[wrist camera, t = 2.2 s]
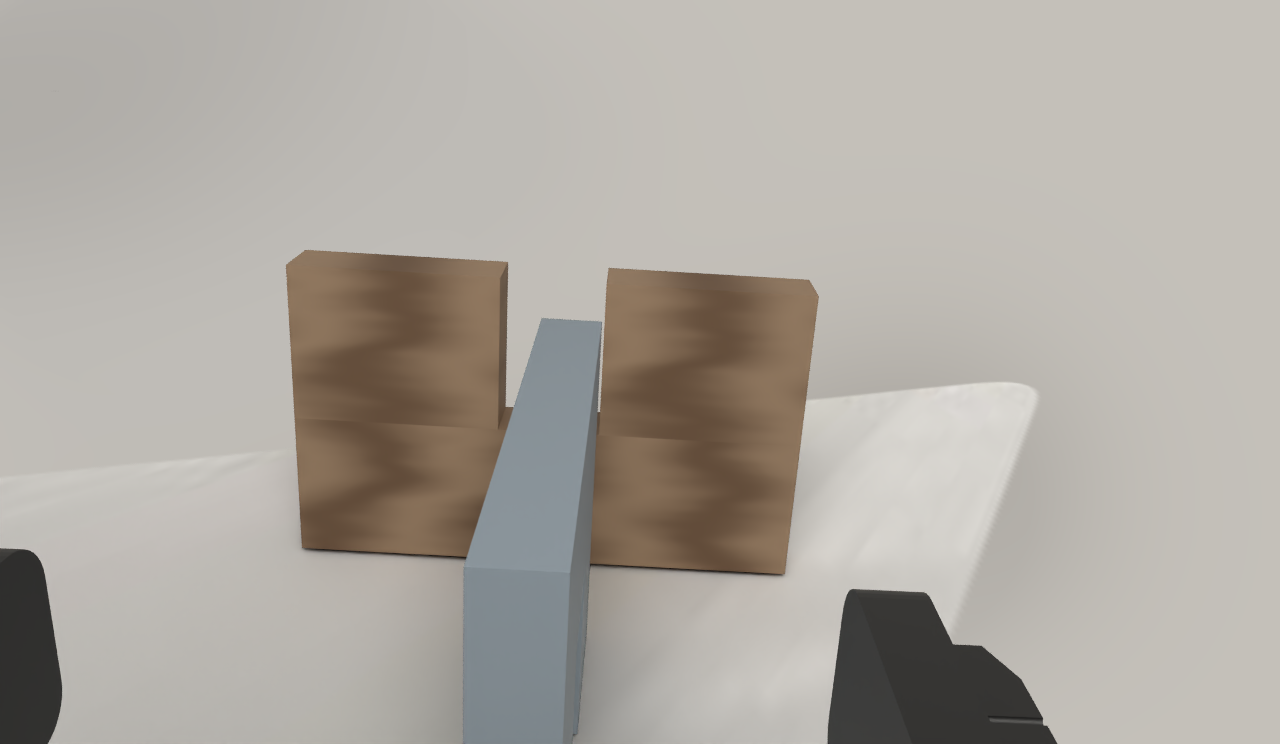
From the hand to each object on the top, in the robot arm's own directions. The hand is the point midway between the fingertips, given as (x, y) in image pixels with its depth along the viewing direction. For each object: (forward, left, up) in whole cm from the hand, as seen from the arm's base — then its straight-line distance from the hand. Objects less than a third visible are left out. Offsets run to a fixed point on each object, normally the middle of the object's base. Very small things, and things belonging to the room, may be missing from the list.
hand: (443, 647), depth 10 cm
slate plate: (0, +16, -16) cm, 23 cm away
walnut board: (-1, +30, -16) cm, 34 cm away
